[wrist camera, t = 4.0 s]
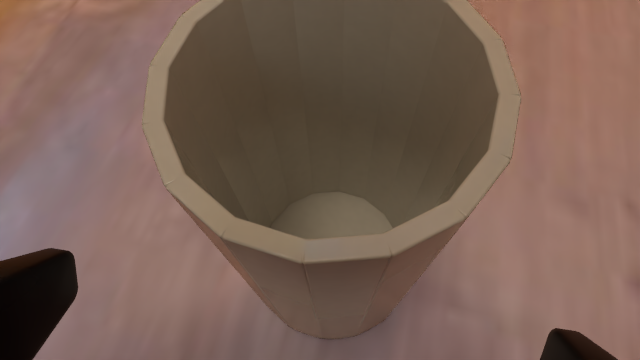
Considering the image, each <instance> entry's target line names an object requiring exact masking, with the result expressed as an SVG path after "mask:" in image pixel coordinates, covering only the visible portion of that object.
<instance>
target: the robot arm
mask: <svg viewBox="0 0 640 360" xmlns="http://www.w3.org/2000/svg"><path fill="white" fill-rule="evenodd" d="M77 291H78V282H77V274H76V266H75V259H74V256H73V254H72V253H71V252H70V251H66V250H60V249H54V248H48V249H44V250H40V251H37V252H33V253H29V254H26V255H22V256H18V257H14V258H11V259H7V260H3V261H0V360H33V358H34V357H35V355H36V354H37V353H38V351H39V350H40V348H41V347H42V345H43V344H44V343H45V341H46V340H47V338H48V337H49V335H50V334H51V333H52V331H53V330H54V328H55V327H56V325H57V324H58V323H59V321H60V320H61V318H62V317H63V315H64V314H65V313H66V311H67V310H68V308H69V307H70V305H71V304H72V303H73V301H74V299H75V297H76V295H77ZM540 360H618V359H616V358H615V357H614V356H612V355H611V354H609V353H608V352H607V351H605V350H604V349H602V348H601V347H600V346H598V345H597V344H595V343H594V342H592V341H591V340H590V339H588V338H587V337H585V336H584V335H583V334H581V333H579V332H577V331H572V330H565V329H558V328H555V329H553V330H551V332H550V333H549V335H548V338H547V341H546V344H545V346H544V349H543V352H542V355H541V358H540Z"/></svg>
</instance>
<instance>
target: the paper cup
mask: <svg viewBox="0 0 640 360" xmlns="http://www.w3.org/2000/svg"><path fill="white" fill-rule="evenodd" d="M520 96H521V93H520V90H519V87H518V84H517V81H516V78H515V75H514V72H513V69H512V66H511V63H510V60H509V57H508V54H507V51H506V48H505V45H504V42H503V40H502V39H501V37H500V36H499V34H498V33H497V32H496V31H495V30H494V29H493V28H492V27H491V26H490V25H489V24H488V22H487V21H486V20H485V19H484V18H483V17H482V16H481V15H480V14H479V13H478V12H477V10H476V9H475V8H474V7H473V6H472V5H471V4H470V3H469V2H468V1H467V0H200V1H199V2H197V3H196V4H195V5H193V6H192V7H191V8H189V9H188V10H187V11H186V12H184V13H183V14H182V16H180V17H179V19H178V20H177V22H176V23H175V25H174V26H173V28H172V30H171V31H170V33H169V34H168V36H167V38H166V39H165V41H164V42H163V44H162V46H161V47H160V49H159V50H158V52H157V54H156V55H155V57H154V58H153V60H152V62H151V63H150V66H149V70H148V78H147V86H146V94H145V102H144V110H143V118H142V129H143V131H144V134H145V137H146V139H147V142H148V145H149V147H150V150H151V153H152V155H153V158H154V161H155V163H156V166H157V168H158V171H159V174H160V176H161V179H162V182H163V184H164V186H165V187H166V189H167V190H168V192H169V193H170V194H171V195H172V196H173V197H174V199H175V200H176V201H177V202H178V203H179V204H180V206H181V207H182V208H183V209H184V210H185V211H186V213H187V214H188V215H189V216H190V217H191V218H192V219H193V221H194V222H195V223H196V224H197V225H198V226H199V228H200V229H201V230H202V231H203V232H204V233H205V235H206V236H207V237H208V238H209V239H210V240H211V242H212V243H213V244H214V245H215V246H216V247H217V249H218V250H219V251H220V252H221V253H222V254H223V256H224V257H225V258H226V259H227V260H228V261H229V263H230V264H231V265H232V266H233V267H234V268H235V270H236V271H237V272H238V273H239V274H240V275H241V276H242V278H243V279H244V280H245V281H246V282H247V283H248V285H249V286H250V287H251V288H252V289H253V290H254V292H255V293H256V294H257V295H258V296H259V297H260V299H261V300H262V301H263V302H264V303H265V304H266V306H267V307H268V308H269V309H271V310H272V311H273V312H274V313H275V314H276V315H277V316H278V317H279V318H280V319H281V320H282V321H283V322H284V323H286V324H287V325H288V326H289V327H291V328H292V329H295V330H297V331H299V332H302V333H304V334H306V335H310V336H313V337H317V338H322V339H340V338H347V337H353V336H357V335H359V334H361V333H363V332H365V331H367V330H370V329H371V328H373V327H374V326H376V325H377V324H379V323H381V322H383V321H384V320H385V319H386V318H387V317H388V316H389V314H390V313H391V312H392V311H393V309H394V308H395V307H396V306H397V305H398V303H399V302H400V301H401V300H402V298H403V297H404V296H405V295H406V293H407V292H408V291H409V290H410V288H411V287H412V286H413V285H414V284H415V282H416V281H417V280H418V279H419V277H420V276H421V275H422V274H423V272H424V271H425V270H426V269H427V267H428V266H429V265H430V264H431V263H432V261H433V260H434V259H435V258H436V256H437V255H438V254H439V253H440V251H441V250H442V249H443V248H444V246H445V245H446V244H447V243H448V242H449V240H450V239H451V238H452V237H453V235H454V234H455V233H456V232H457V230H458V229H459V228H460V227H461V225H462V224H463V223H464V222H465V220H466V219H467V218H468V217H469V215H470V214H471V213H472V212H473V210H474V209H475V208H476V206H477V205H478V204H479V202H480V201H481V200H482V198H483V197H484V196H485V194H486V193H487V192H488V191H489V189H490V188H491V187H492V185H493V184H494V183H495V181H496V180H497V179H498V177H499V176H500V175H501V174H502V172H503V171H504V170H505V168H506V167H507V166H508V164H509V163H510V160H511V158H512V153H513V146H514V140H515V134H516V128H517V122H518V116H519V109H520V103H521V97H520Z"/></svg>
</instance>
